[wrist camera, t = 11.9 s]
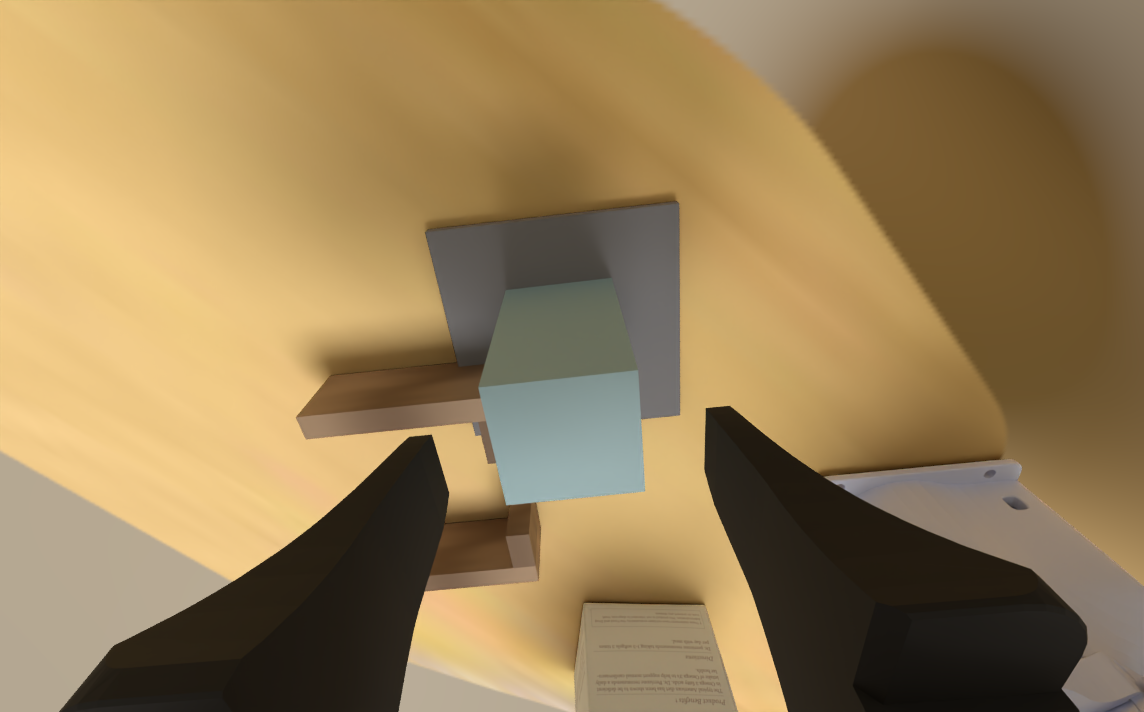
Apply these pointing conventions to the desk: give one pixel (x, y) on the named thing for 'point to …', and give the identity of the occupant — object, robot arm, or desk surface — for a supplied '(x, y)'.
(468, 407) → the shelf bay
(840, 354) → the desk surface
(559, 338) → the block
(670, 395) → the mat
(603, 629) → the supplement box
